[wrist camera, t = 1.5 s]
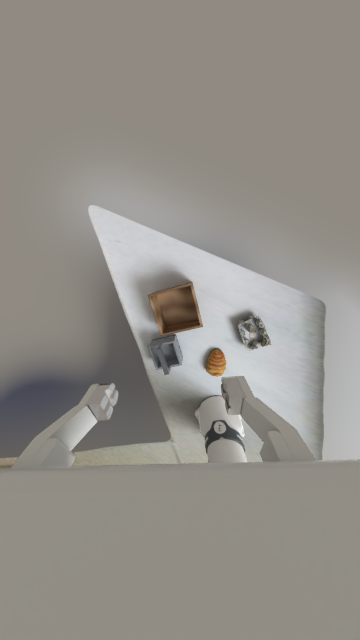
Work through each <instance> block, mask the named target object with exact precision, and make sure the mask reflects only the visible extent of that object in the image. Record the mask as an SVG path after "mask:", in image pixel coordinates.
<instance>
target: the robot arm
mask: <svg viewBox="0 0 360 640" xmlns="http://www.w3.org/2000/svg"><path fill="white" fill-rule="evenodd" d="M221 381H222V384H221V392H222V397H221V396H214V397H210V398H207V399H206V400H204V401H203V402H202V403H201V405H200V407H199V408H198V409H197V410H196V411H195V416H196V418H197V419H198V421H199V425H200V433H202V435H203V437H204V438H205V448H206V453H207V455H208V463H189V464H146V465H103V466H72V464H73V462H74V459H75V455H74V454H73V453H72V452H71V450H72V449H73V448H74V447H75V446H76V444H77V443H78V442H79V441H80V440H81V439H82V438H83V437H84V436H85V435H86V433H87V432H88V431H89V430H90V429H91V428H92V427H93V426H94V425H95V424H96V422H97V421H98V420H109V419H110V417H111V414H112V412H113V406H114V405H115V404H116V402H117V400H118V391H117V390H116V389H115V385H114V384H113V383H110V384H93V385H91V387H90V388H89V390H88V391H87V393H86V394H85V396H84V397H83V398H82V400H81V402H80V403H79V405H78V406H75V407H74V408H72V409H71V410H70V411H69V412H67V413H66V414H65V415H63V416H62V417H61V418H59V419H58V420H57V421H56V422H54V423H53V424H52V425H50V426H49V427H48V428H47V429H45V430H44V431H43V432H41V433H40V434H39V435H38V436H36V437H35V438H34V439H33V440H32V441H31V443H30V444H29V445H28V447H27V448H26V449H25V450H24V452H23V453H22V454H21V456H20V457H19V458H18V459H17V461H16V462H15V463H14V464H13V466H12V467H11V468H0V640H360V460H319V461H316V460H315V458H314V457H313V455H312V453H311V452H310V450H309V449H308V447H307V446H306V444H305V442H304V441H303V439H302V438H301V436H300V435H299V433H298V431H297V430H296V429H295V428H294V427H293V426H291V425H290V424H289V423H288V422H286V421H285V420H284V419H283V418H281V417H280V416H279V415H278V414H277V413H275V412H274V411H273V410H272V409H270V408H269V407H268V406H267V405H265V404H264V403H263V402H262V401H260V400H259V399H258V398H255V397H254V395H253V393H252V391H251V389H250V387H249V385H248V383H247V381H246V379H245V377H244V376H232V377H222V380H221ZM241 418H243V419H244V420H245V421H246V423H247V424H248V425H249V426H250V427H251V428H252V429H253V431H254V432H255V433H256V434H257V435H258V436H259V438H260V439H261V440H262V441H263V442H264V444H263V446H262V449H261V451H260V455H261V458H262V460H263V462H247V459H246V456H245V448H244V443H243V440H242V437H244V429H243V426H242V423H241Z"/></svg>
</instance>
